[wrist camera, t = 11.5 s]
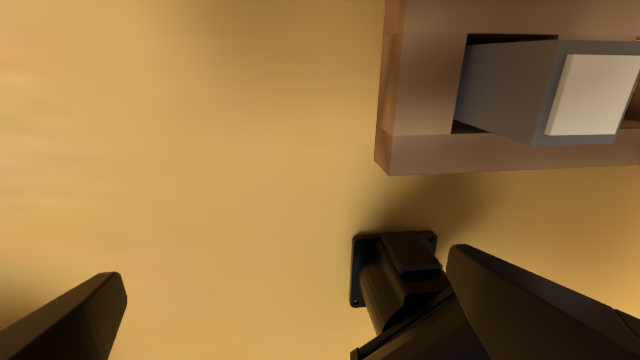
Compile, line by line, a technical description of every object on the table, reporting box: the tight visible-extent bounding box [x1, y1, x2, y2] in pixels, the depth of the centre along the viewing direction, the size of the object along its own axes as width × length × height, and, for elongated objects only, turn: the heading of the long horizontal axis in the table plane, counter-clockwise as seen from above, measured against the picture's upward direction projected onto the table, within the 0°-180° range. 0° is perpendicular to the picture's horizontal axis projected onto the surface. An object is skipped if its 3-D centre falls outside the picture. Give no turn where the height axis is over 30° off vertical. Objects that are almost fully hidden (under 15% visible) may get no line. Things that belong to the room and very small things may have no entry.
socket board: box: [374, 0, 640, 176], centre depth 18 cm, size 14×22×4 cm, turn 90°
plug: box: [453, 39, 640, 146], centre depth 16 cm, size 4×4×8 cm
